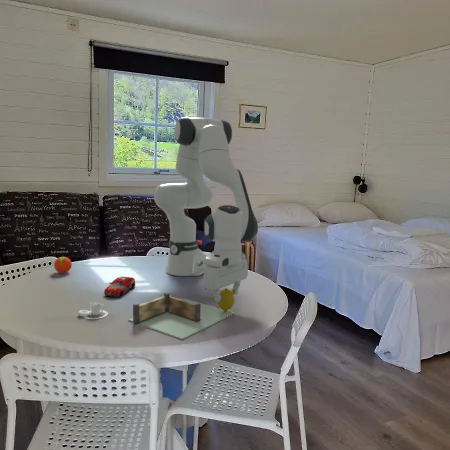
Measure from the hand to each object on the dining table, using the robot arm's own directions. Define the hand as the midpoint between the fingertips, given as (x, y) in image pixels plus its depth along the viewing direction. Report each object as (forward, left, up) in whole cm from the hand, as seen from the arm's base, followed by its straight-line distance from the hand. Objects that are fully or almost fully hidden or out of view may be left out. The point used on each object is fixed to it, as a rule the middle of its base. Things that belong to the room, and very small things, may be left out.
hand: (226, 297), depth 142 cm
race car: (+7, -43, -6) cm, 44 cm away
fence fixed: (+19, -15, -5) cm, 25 cm away
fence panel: (+12, -8, -5) cm, 15 cm away
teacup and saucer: (+28, -34, -6) cm, 44 cm away
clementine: (+7, -79, -6) cm, 80 cm away
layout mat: (+12, -8, -5) cm, 16 cm away
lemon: (0, 0, -5) cm, 5 cm away
